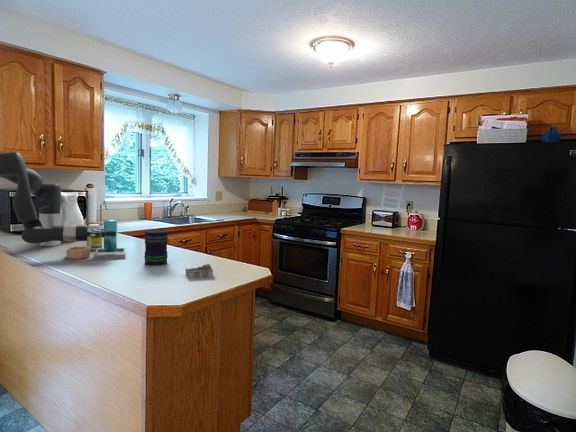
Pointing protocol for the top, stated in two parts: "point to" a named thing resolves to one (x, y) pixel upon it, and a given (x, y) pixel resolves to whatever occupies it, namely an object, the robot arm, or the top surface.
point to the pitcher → (70, 210)
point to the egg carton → (199, 272)
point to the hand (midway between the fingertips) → (116, 232)
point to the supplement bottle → (94, 239)
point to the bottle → (110, 241)
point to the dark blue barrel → (156, 247)
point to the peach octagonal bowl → (78, 252)
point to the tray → (109, 254)
